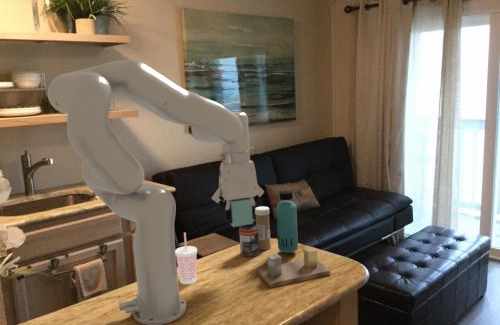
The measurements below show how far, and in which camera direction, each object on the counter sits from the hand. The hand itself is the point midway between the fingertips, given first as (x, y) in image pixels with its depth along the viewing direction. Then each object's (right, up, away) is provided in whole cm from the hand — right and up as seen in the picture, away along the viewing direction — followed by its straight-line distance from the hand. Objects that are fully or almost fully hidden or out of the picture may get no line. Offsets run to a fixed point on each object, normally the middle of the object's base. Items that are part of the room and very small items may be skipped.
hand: (239, 219), depth 124 cm
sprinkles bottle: (+7, -12, +20) cm, 25 cm away
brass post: (+20, -13, +1) cm, 24 cm away
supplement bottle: (+3, -13, +15) cm, 20 cm away
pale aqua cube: (0, -1, 0) cm, 1 cm away
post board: (+15, -15, 0) cm, 21 cm away
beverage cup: (-14, -17, -1) cm, 22 cm away
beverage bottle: (+15, -13, +14) cm, 24 cm away
